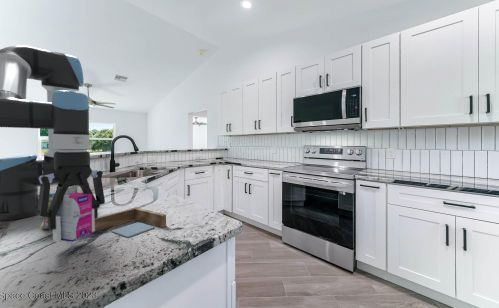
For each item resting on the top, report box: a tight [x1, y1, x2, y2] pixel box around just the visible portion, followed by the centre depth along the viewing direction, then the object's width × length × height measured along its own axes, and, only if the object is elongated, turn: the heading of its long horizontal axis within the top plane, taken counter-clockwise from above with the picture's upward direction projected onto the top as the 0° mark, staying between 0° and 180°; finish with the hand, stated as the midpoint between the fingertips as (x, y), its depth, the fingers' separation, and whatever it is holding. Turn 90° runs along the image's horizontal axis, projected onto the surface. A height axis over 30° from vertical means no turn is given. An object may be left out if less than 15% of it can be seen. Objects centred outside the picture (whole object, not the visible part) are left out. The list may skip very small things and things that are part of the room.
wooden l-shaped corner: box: [93, 207, 167, 233], centre depth 71 cm, size 17×19×4 cm
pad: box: [110, 221, 155, 238], centre depth 72 cm, size 9×9×1 cm
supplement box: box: [57, 192, 93, 243], centre depth 60 cm, size 6×6×12 cm
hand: (74, 235), depth 60 cm, fingers closed on supplement box, 7 cm apart
